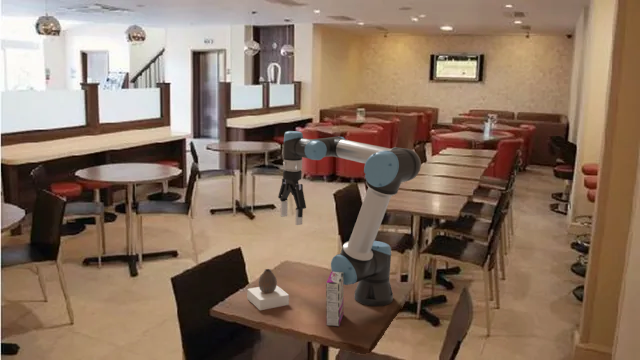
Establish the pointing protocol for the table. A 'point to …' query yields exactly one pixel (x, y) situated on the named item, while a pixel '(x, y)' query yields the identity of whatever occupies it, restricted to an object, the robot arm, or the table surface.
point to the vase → (267, 282)
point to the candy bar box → (334, 299)
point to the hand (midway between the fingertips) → (291, 220)
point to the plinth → (267, 298)
